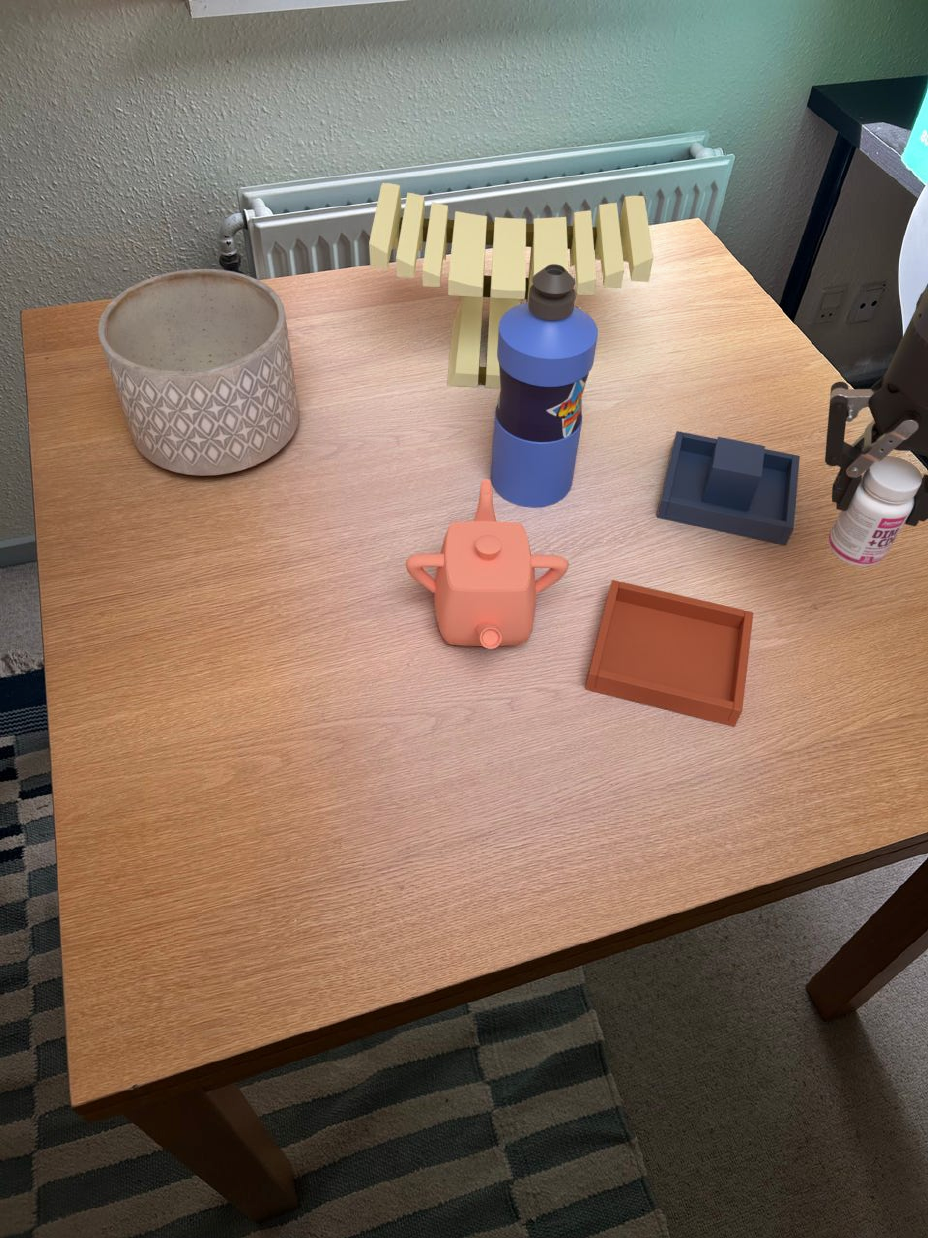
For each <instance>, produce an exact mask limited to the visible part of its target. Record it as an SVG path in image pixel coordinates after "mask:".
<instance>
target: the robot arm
mask: <svg viewBox="0 0 928 1238" xmlns="http://www.w3.org/2000/svg"><path fill="white" fill-rule="evenodd" d="M915 305H916V306H915V310H914V312H913V314H912V316H911V318H910V320H909V323H908V324H907V327H906V329H905V331H904V333H903V335H902V338H901V340H900V342H899V344H898V346H897V348H896V350H895V351H894V352H895V353H894V355H893V357H892V360H891V361H890V363H889V366H888V368H887V369H886V372H885V374H884V375H883V376H882V377H881V378H880V379H879V380H878V381H876V382H875V383H873V385H871V387H870V388H853V389H850V388H849V384H847V383H846V382H845V381H836V382H834V383H833V384H832V385H831V387H830V394H829V407H828V417H827V429H826V442H825V452H824V453H825V455H824V456H825V457H824V463H825V464H826V465H827V466H830V467H839V471H838V473H837V474H836V477H835V479H834V481H833V484H832V489H831V501H832V503H834V504H835V510H837V511H840V512H841V511H846V510H847V508H848V506H849V504H850V502H851V500H852V498H853V496H854V494H855V492H856V490H857V488H858V486H859V484H860V482H861V480H862V476H863V475H864V473H865V472H866V470H867V469H868V468H869V467H870V466H871V465H873V464H874V463H875V462H876V461H877V462H880V461H881V460H883V459H884V458H885V457H886V456H889V455H890V453H891V452H892V451H894V450H895V451H899V452H914V453H916V454H918V455H920V456H924V457H928V283H927V284H926V286H925V289H924V290H923V291H922V292H921V293H920V294H919V297H918V299H917V301H916V303H915ZM866 408H868V409H869V411H870V414H871V416H872V420H871V422H870V423H868V425H867V426H866V427H865V429H864V431H863V433H862V435H861V436H859V437H858V438H857V439H856V440H855V441H854V442H853V443H852V444H850V443H848V442H846V441H845V436H846V425H847V423H851V422H853V420H854V419H856V418H857V417H858V415H859V413H860V411H861V410H862V409H866ZM927 520H928V474H927V473H926V474H925V473H924V474H923V475H922V483H921V485H920V487H919V489H918V491H917V493H916V494H915V496H914V506H913V509H912V511H911V513H910V514H909V516H908V518H907V519H906V521H905V523H904V525H906V526H910V527H916V526H917V525H918V523H919V522H922V523H923V522H926V521H927Z"/></svg>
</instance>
